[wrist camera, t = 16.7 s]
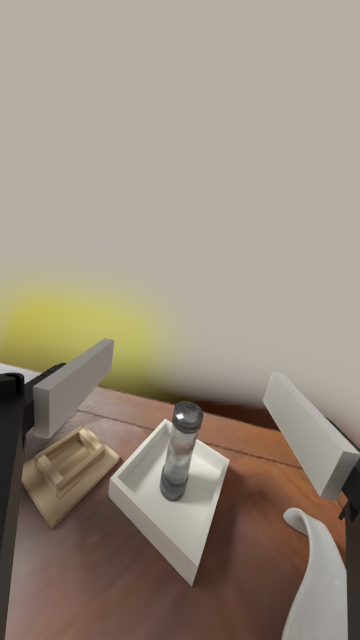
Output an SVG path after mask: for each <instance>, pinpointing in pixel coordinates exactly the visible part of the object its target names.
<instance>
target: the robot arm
mask: <svg viewBox="0 0 360 640" xmlns="http://www.w3.org/2000/svg"><path fill="white" fill-rule="evenodd" d="M113 346H114V340H111V339H106V338H105V339H103V340H102V341H100V342H99V343H97V344H96V345H94V346H93V347H91V348H90V349H88V350H87V351H85V352H84V353H83V354H81V355H79V356H78V357H76V358H75V359H73V360H72V361H71V362H69V363H67V364H66V363H61V364H58V365H55V366H53V367H52V368H50V369H48V370H47V371H46V372H43V373H42V374H40V376H37V377H35V378H34V379H32V380H31V381H29V382H27V383H26V384H24V376H23V375H22V374H20V373H4V374H0V640H5V631H6V621H7V612H8V603H9V593H10V584H11V575H12V565H13V556H14V547H15V537H16V528H17V519H18V509H19V500H20V491H21V481H22V472H23V463H24V453H25V444H26V433H27V432H28V431H29V430H30V429H31V428H32V427H33V426H34V436H36V437H41V438H45V439H50V438H51V437H52V435H53V434H54V433H55V432H56V431H57V430H58V429H59V428H60V427H61V425H62V424H63V423H64V422H65V421H66V420H67V419H68V418H69V416H70V415H71V414H72V413H73V412H74V411H75V410H76V409H77V407H78V406H79V405H80V404H81V403H82V402H83V401H84V400H85V399H86V397H87V396H88V395H89V394H90V393H91V392H92V391H93V390H94V388H95V387H96V386H97V385H98V384H99V383H100V382H101V381H102V380H103V378H104V377H105V376H106V375H107V374H108V373H109V372H110V371H111V366H112V355H113ZM263 402H264V404H265V405H266V407H267V409H268V410H269V412H270V414H271V416H272V417H273V419H274V421H275V422H276V424H277V426H278V427H279V429H280V431H281V432H282V434H283V436H284V437H285V439H286V441H287V442H288V444H289V446H290V447H291V449H292V451H293V453H294V454H295V456H296V458H297V459H298V461H299V463H300V464H301V466H302V468H303V469H304V471H305V473H306V474H307V476H308V478H309V479H310V481H311V483H312V484H313V486H314V488H315V490H316V491H317V493H318V495H319V496H320V497H323V498H328V499H332V500H337V498H338V496H339V494H340V492H341V491H343V493H344V494H345V496H346V497H347V498H348V501H347V503H346V505H345V506H344V508H343V510H342V512H341V513H340V515H339V519H340V520H341V521H342V519H343V517H345V525H346V574H347V623H348V640H360V449H359V448H358V447H357V446H356V445H355V444H354V443H353V442H352V441H351V440H350V439H349V438H347V436H346V435H345V434H344V433H343V432H341V430H340V429H339V428H338V427H337V426H336V425H335V424H334V423H333V422H332V421H330V420H329V419H328V418H326V417H325V416H323V415H322V414H321V413H320V412H319V411H318V410H317V409H316V408H315V407H314V406H313V405H312V404H311V403H310V402H309V401H308V400H307V399H306V398H305V396H303V394H302V393H301V392H300V391H299V390H298V389H297V388H296V387H295V386H294V385H292V383H291V382H290V381H289V380H288V379H287V378H286V377H285V376H284V375H283V374H282V373H276V372H272V375H271V379H270V381H269V384H268V387H267V390H266V393H265V395H264V398H263Z"/></svg>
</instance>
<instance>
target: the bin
mask: <svg viewBox="0 0 360 640" xmlns="http://www.w3.org/2000/svg"><path fill="white" fill-rule="evenodd" d="M172 424H173V423H171V422H169V421H168V420H166V419H164V420H163V422H162V423H161V424H160V425H159V426H158V427H157V428H156V429H155V430H154V431H153V432H152V433H151V435H150V436H149V437H148V438H147V439H146V440H145V441H144V442H143V443H142V444H141V445H140V446H139V448H138V449H137V450H136V451H135V452H134V453H133V454H132V455H131V456H130V457H129V458H128V459H127V461H126V462H125V463H124V464H123V465H122V466H121V467H120V468H119V469H118V470H117V471H116V472H115V474H114V475H113V476H112V477H111V478H110V483H109V491H108V497H109V498H110V499H111V500H112V501H113V502H114V503H115V504H116V505H117V506H118V508H119V509H120V510H121V511H122V512H123V513H124V514H125V515H126V516H127V517H128V518H129V519H130V521H131V522H132V523H133V524H134V525H135V526H136V527H137V528H138V529H139V530H140V531H141V533H142V534H143V535H144V536H145V537H146V538H147V539H148V540H149V541H150V542H151V543H152V544H153V546H154V547H155V548H156V549H157V550H158V551H159V552H160V553H161V554H162V555H163V556H164V557H165V559H166V560H167V561H168V562H169V563H170V564H171V565H172V566H173V567H174V568H175V569H176V571H177V572H178V573H179V574H180V575H181V576H182V577H183V578H184V579H185V580H186V581H187V582H188V584H189V585H190V586H191V587H192V585H193V581H194V578H195V575H196V572H197V569H198V566H199V563H200V559H201V556H202V552H203V549H204V546H205V542H206V539H207V535H208V532H209V529H210V525H211V522H212V518H213V515H214V512H215V508H216V505H217V501H218V498H219V495H220V491H221V488H222V484H223V481H224V477H225V474H226V471H227V467H228V464H229V459H227V458H226V457H224V456H222V455H221V454H219V453H218V452H216V451H215V450H213V449H212V448H210V447H208V446H207V445H205V444H204V443H202V442H201V441H199V440H197V439H196V443H195V447H194V451H193V455H192V459H191V464H190V468H189V472H188V481H187V485H186V489H185V493H184V495H183V497H182V498H181V499H180V500H178V501H175V502H171V501H168V500H167V499H165V498H164V497H163V495H162V494H161V491H160V479H161V473H162V468H163V466H164V464H165V459H166V454H167V449H168V444H169V439H170V434H171V429H172Z"/></svg>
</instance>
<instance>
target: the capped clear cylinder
mask: <svg viewBox="0 0 360 640" xmlns="http://www.w3.org/2000/svg"><path fill="white" fill-rule="evenodd" d="M202 419H203V411H202V410H201V408H200V407H199V406H197V405H196V404H194V403H192V402H188V401H182V402H179V403H177V404H176V405H175V408H174V413H173V418H172V422H173V424H172V429H171V434H170V439H169V444H168V449H167V454H166V459H165V464H164V466H163V468H162V473H161V479H160V491H161V494H162V495H163V497H164V498H165V499H167V500H168V501H171V502H175V501H178V500H180V499H181V498H182V497H183V495H184V493H185V489H186V485H187V481H188V472H189V468H190V464H191V459H192V455H193V451H194V447H195V443H196V439H197V435H198V431H199V430H200V427H201V423H202Z"/></svg>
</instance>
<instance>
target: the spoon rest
mask: <svg viewBox="0 0 360 640" xmlns="http://www.w3.org/2000/svg"><path fill="white" fill-rule="evenodd" d="M283 517H284V520H285V521H286V522H287V523H288V524H289V525H290V526H291V527H293V528H294V529H296V530H297V531H299V532H301V533H303V534H304V535H306V536H308V537H309V546H310V551H309V561H308V566H307V570H306V573H305V576H304V578H303V581H302V583H301V585H300V588H299V590H298V592H297V594H296V596H295V599H294V601H293V604H292V606H291V609H290V612H289V615H288V617H287V620H286V623H285V626H284V630H283V633H282V638H281V640H348V623H347V574H346V569H345V566H344V563H343V561H342V558H341V556H340V553H339V551H338V549H337V546H336V544H335V542H334V540H333V538H332V536H331V534H330V532H329V531H328V529H327V528H326V526H325V525H324V524H323V523H322V522H320V521H318V520H316V519H314V518H312V517H310V516H309V515H307V514H306V513H304V512H303V511H302V510H300V509H298V508H290V509H288V510H287V511H286V512H285V513H284V514H283Z"/></svg>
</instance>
